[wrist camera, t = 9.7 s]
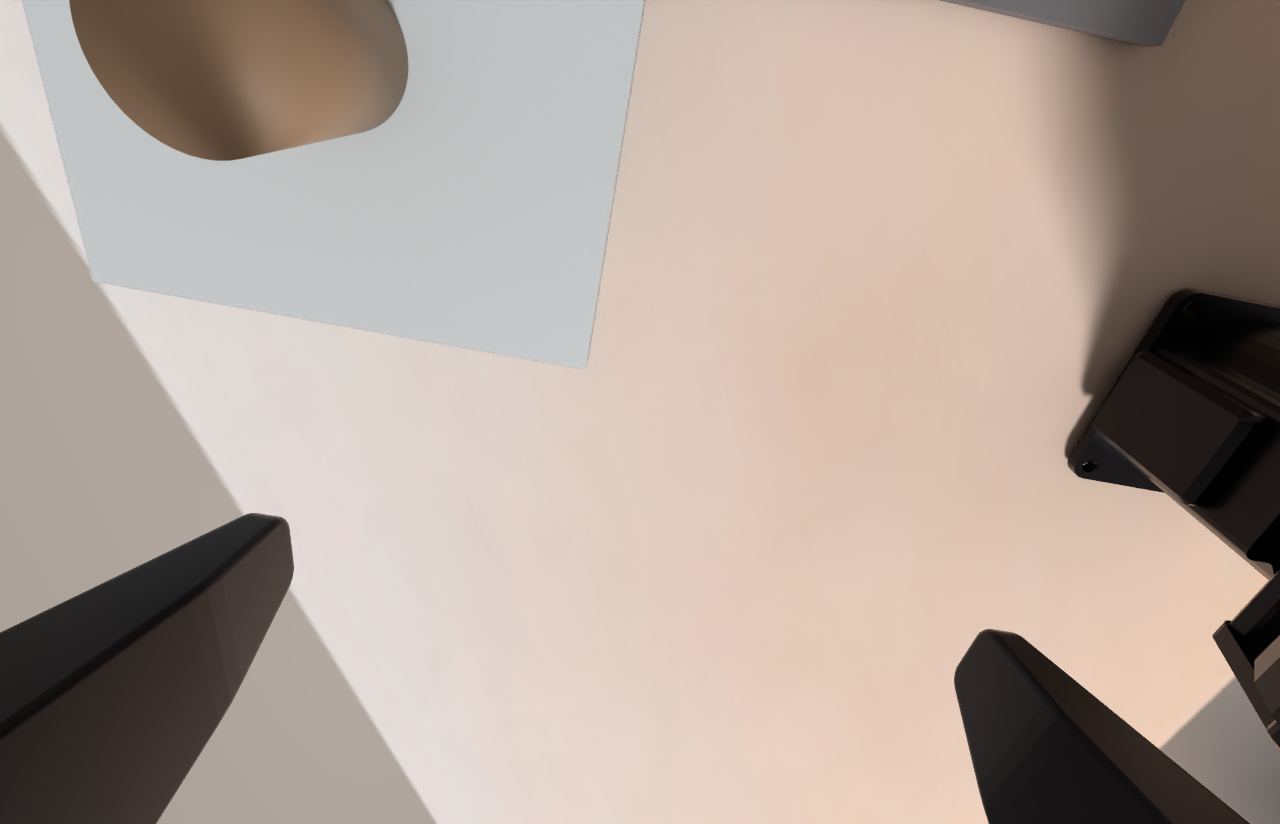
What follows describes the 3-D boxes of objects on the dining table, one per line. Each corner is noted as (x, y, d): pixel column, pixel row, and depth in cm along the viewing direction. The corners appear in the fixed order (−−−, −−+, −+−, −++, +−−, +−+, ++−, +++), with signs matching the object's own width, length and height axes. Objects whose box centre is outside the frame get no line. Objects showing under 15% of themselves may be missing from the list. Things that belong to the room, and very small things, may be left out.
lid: (688, -271, 10) (709, -524, 6) (589, 356, 15) (561, 467, 11) (-46, -454, 9) (-649, -900, 5) (120, 271, 14) (-103, 355, 10)
